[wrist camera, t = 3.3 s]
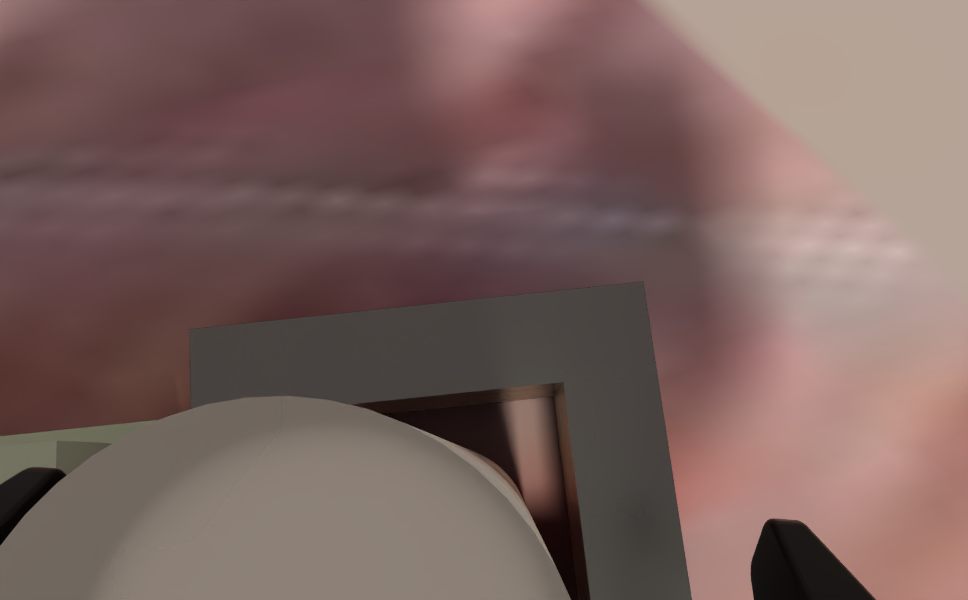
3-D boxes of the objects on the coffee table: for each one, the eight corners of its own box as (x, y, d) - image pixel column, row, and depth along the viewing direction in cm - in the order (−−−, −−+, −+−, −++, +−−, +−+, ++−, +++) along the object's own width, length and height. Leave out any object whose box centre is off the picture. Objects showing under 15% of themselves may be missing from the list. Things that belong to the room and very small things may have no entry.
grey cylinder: (537, 606, 16) (650, 1125, 3) (373, 623, 16) (-111, 1201, 3) (518, 439, 17) (557, 364, 4) (362, 456, 17) (-61, 429, 4)
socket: (681, 730, 16) (720, 791, 13) (254, 773, 16) (196, 844, 13) (620, 312, 18) (642, 281, 15) (242, 351, 18) (189, 329, 15)
